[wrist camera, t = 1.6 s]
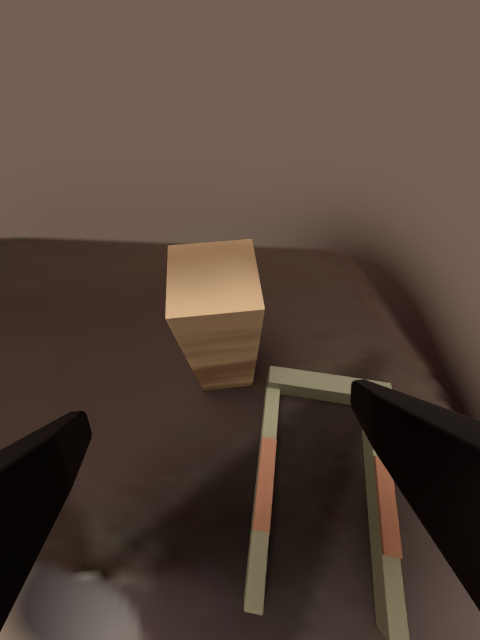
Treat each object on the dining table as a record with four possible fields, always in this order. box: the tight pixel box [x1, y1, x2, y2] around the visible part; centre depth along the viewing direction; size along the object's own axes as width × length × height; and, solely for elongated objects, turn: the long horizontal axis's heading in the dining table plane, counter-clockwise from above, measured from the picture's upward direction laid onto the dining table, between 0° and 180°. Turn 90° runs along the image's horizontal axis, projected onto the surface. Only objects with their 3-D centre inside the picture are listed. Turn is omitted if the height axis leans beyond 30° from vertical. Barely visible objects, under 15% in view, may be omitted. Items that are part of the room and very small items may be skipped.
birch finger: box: [165, 239, 265, 391], centre depth 16 cm, size 4×4×12 cm
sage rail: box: [244, 366, 409, 640], centre depth 16 cm, size 13×8×3 cm, turn 171°
